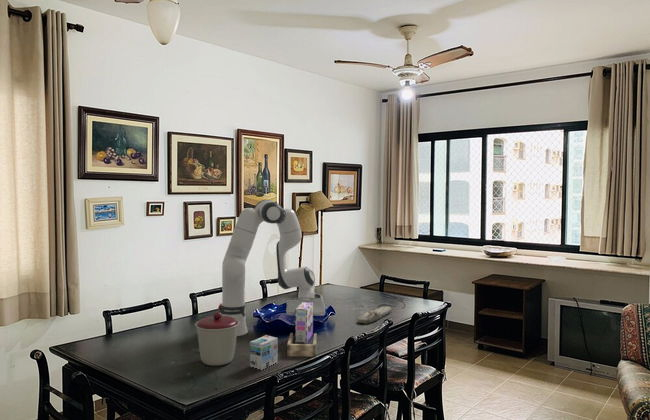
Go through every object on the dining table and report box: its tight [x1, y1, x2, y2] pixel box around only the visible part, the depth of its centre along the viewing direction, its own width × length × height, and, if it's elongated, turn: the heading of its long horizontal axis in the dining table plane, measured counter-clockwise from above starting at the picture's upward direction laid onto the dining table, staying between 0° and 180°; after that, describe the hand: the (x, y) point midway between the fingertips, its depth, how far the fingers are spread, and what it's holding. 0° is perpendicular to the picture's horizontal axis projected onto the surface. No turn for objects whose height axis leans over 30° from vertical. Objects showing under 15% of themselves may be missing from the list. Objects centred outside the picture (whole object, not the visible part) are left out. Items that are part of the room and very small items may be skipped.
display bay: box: [286, 332, 318, 358], centre depth 216 cm, size 12×17×5 cm
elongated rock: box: [357, 306, 393, 324], centre depth 271 cm, size 35×5×10 cm
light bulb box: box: [249, 334, 279, 371], centre depth 197 cm, size 11×7×11 cm, turn 148°
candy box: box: [294, 302, 314, 344], centre depth 231 cm, size 14×6×16 cm, turn 168°
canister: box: [194, 311, 239, 367], centre depth 200 cm, size 18×18×21 cm
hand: (305, 322), depth 242 cm, fingers closed
